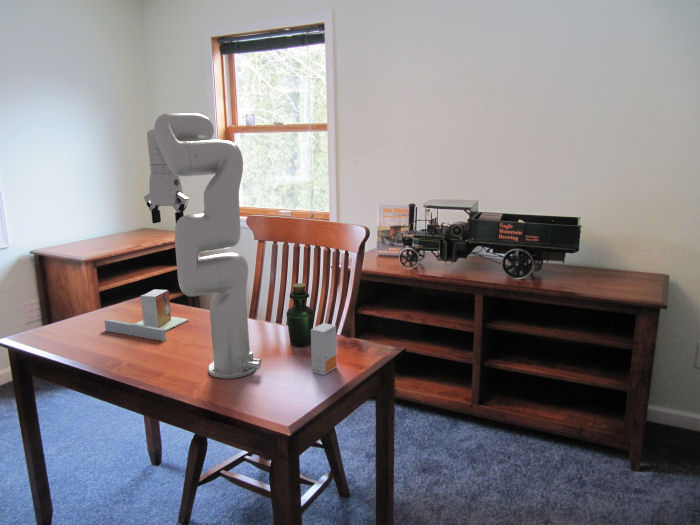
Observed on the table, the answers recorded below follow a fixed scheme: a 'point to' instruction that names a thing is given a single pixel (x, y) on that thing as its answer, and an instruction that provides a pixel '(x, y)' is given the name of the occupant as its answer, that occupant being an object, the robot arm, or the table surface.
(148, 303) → the small box
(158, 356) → the table surface
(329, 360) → the skincare box
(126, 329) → the low wall
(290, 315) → the potion bottle
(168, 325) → the mat
